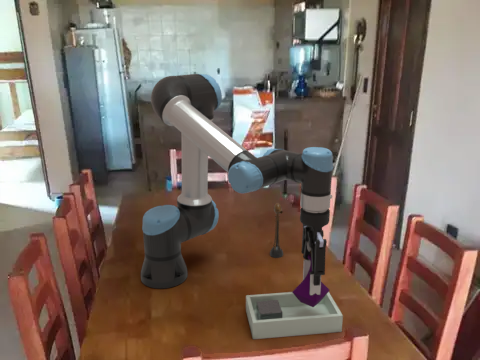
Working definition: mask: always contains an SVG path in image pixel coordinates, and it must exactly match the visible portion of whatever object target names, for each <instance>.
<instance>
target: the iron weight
mask: <svg viewBox="0 0 480 360" xmlns="http://www.w3.org/2000/svg"><path fill="white" fill-rule="evenodd" d="M256 314H257V318H258V320H266V319H278V318H282V310H281V307H280V305H279V302H278V300H271V301H258V302H257V311H256Z"/></svg>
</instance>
